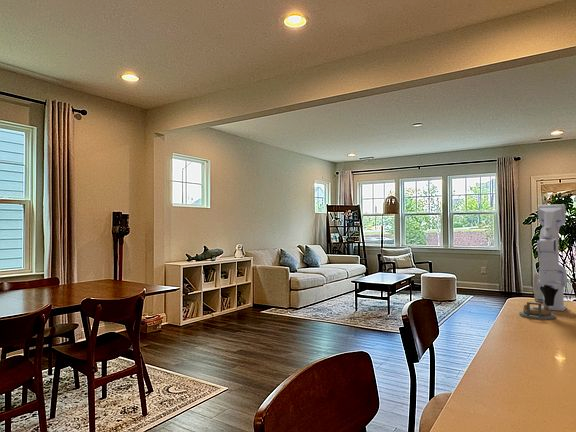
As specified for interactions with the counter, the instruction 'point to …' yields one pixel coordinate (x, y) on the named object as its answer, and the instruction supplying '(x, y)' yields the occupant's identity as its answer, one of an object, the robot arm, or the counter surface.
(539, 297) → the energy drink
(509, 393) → the counter surface
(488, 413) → the counter surface
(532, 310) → the capstan disc
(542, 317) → the disc
